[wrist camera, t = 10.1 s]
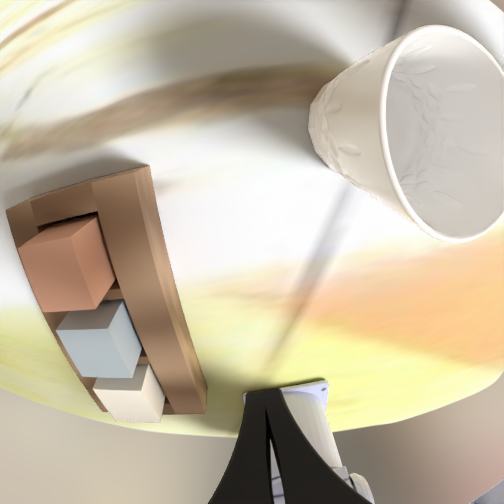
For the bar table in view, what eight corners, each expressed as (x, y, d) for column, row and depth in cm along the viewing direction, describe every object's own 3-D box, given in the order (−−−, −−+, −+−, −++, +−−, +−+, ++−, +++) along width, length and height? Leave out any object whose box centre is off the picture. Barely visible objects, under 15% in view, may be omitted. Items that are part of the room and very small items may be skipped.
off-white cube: (167, 385, 22) (160, 422, 18) (125, 385, 21) (115, 420, 18) (151, 351, 20) (141, 390, 16) (107, 353, 20) (92, 388, 16)
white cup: (279, 160, 17) (340, 196, 7) (320, 48, 14) (407, -17, 5) (385, 203, 18) (487, 266, 9) (419, 103, 15) (534, 106, 6)
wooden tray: (207, 387, 24) (206, 413, 21) (110, 388, 23) (102, 411, 21) (149, 165, 16) (133, 172, 13) (29, 198, 16) (5, 210, 13)
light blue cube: (145, 338, 19) (132, 378, 16) (99, 340, 19) (82, 376, 15) (127, 291, 18) (107, 328, 14) (80, 296, 17) (55, 330, 14)
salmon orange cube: (119, 273, 17) (96, 309, 13) (70, 279, 17) (43, 312, 13) (102, 213, 15) (70, 236, 11) (52, 224, 15) (17, 248, 11)
